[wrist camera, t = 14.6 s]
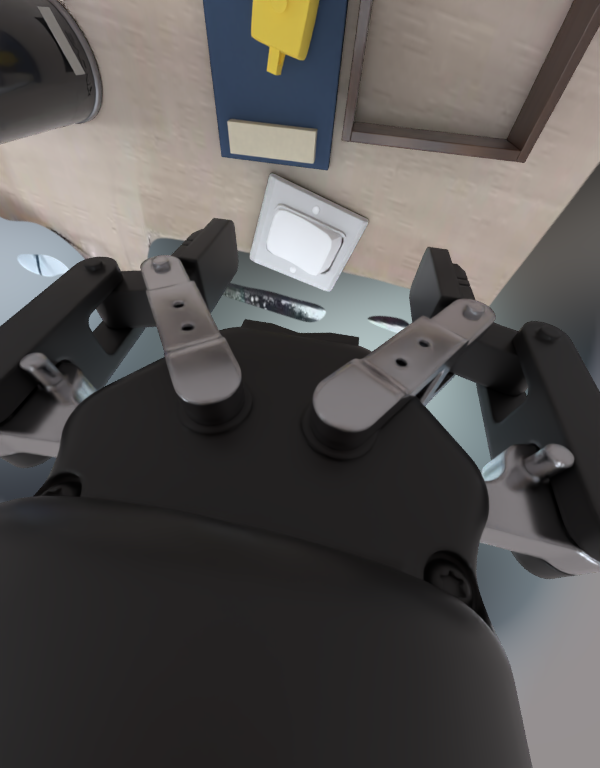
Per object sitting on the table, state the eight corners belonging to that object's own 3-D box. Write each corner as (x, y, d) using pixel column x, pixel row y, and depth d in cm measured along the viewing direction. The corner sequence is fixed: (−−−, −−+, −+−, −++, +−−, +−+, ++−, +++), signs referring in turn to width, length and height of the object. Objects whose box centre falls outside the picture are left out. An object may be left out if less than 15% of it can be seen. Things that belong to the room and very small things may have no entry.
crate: (344, 131, 30) (341, 140, 27) (382, -139, 19) (383, -170, 16) (510, 150, 29) (524, 163, 26) (646, -122, 18) (696, -152, 15)
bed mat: (225, 154, 33) (217, 159, 31) (178, -262, 17) (159, -291, 16) (328, 167, 32) (326, 173, 31) (377, -254, 17) (377, -283, 15)
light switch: (329, 303, 42) (244, 269, 39) (331, 287, 44) (250, 253, 41) (370, 232, 33) (265, 182, 31) (368, 217, 36) (271, 170, 33)
